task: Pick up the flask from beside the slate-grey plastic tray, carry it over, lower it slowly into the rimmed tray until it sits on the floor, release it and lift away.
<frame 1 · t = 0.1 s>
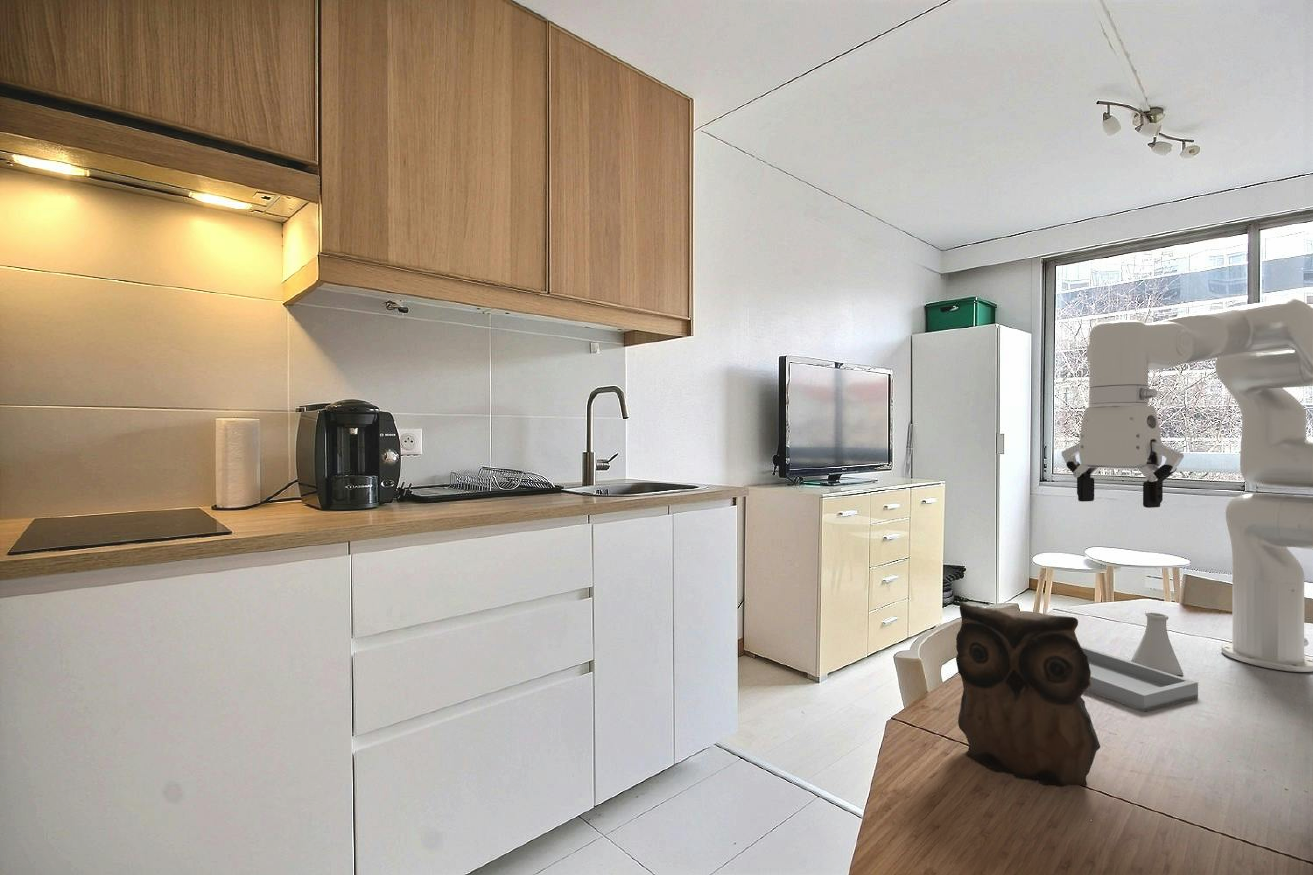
hand: (1117, 504, 96), 31 cm above the table, tool pointing down, fingers open, 9 cm apart
owl: (1026, 761, 76), on the table
flask: (1156, 670, 108), on the table
tray: (1103, 680, 102), on the table
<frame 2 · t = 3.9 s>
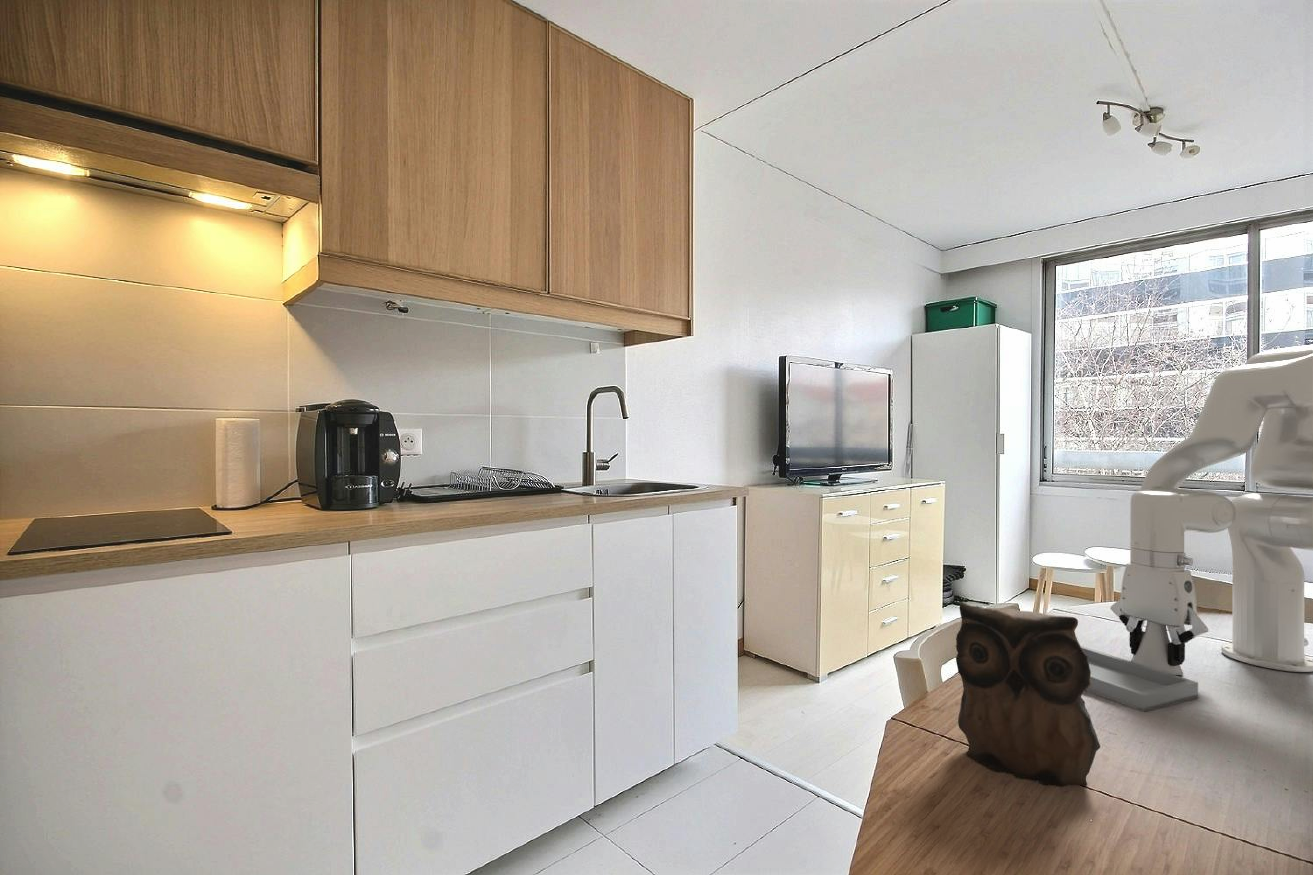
hand: (1156, 657, 108), 2 cm above the table, tool pointing down, fingers closed on flask, 5 cm apart
flask: (1156, 670, 108), on the table, touching gripper
everything else where it was.
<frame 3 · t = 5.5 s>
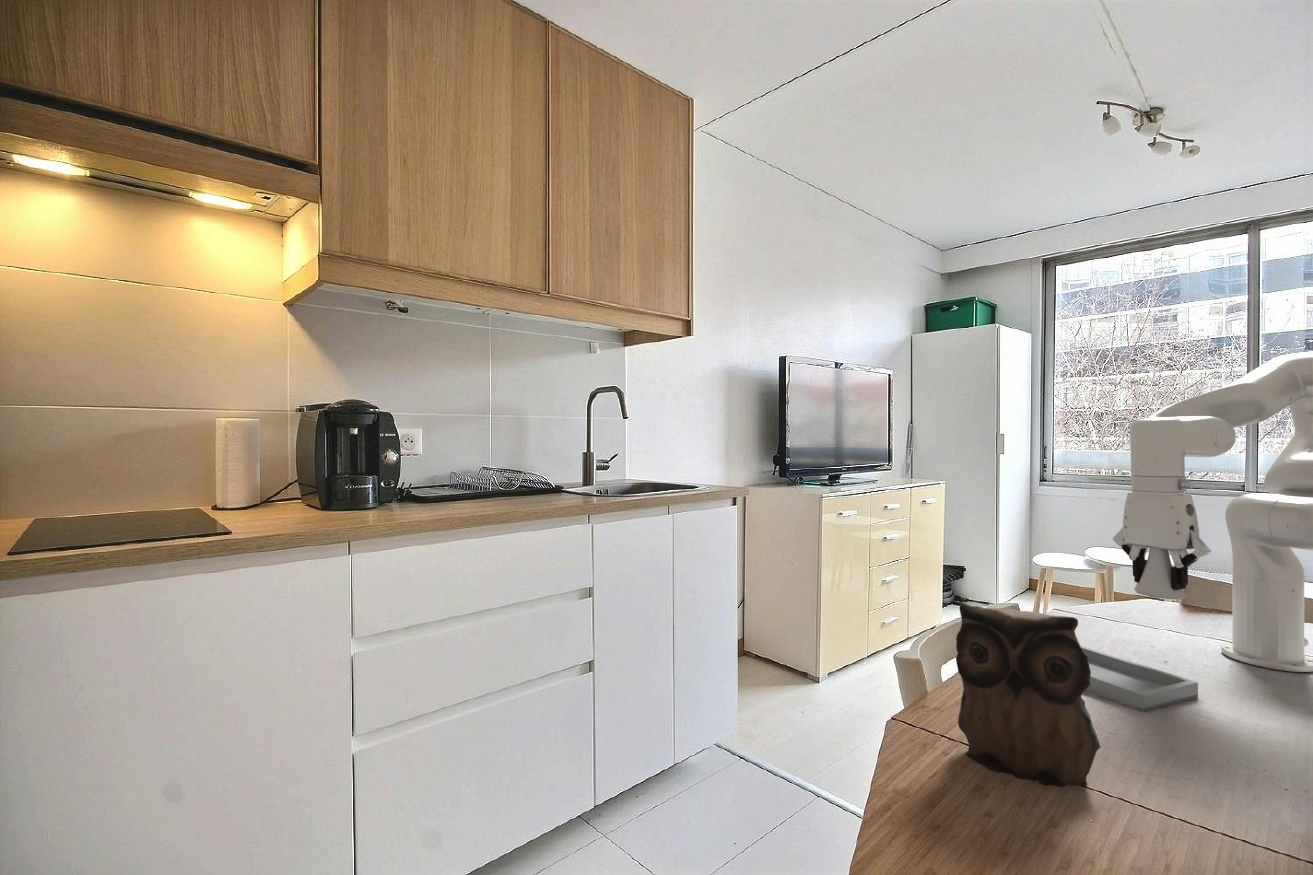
hand: (1159, 584, 108), 15 cm above the table, tool pointing down, fingers closed on flask, 5 cm apart
flask: (1159, 596, 108), point 13 cm above the table, touching gripper
everything else where it was.
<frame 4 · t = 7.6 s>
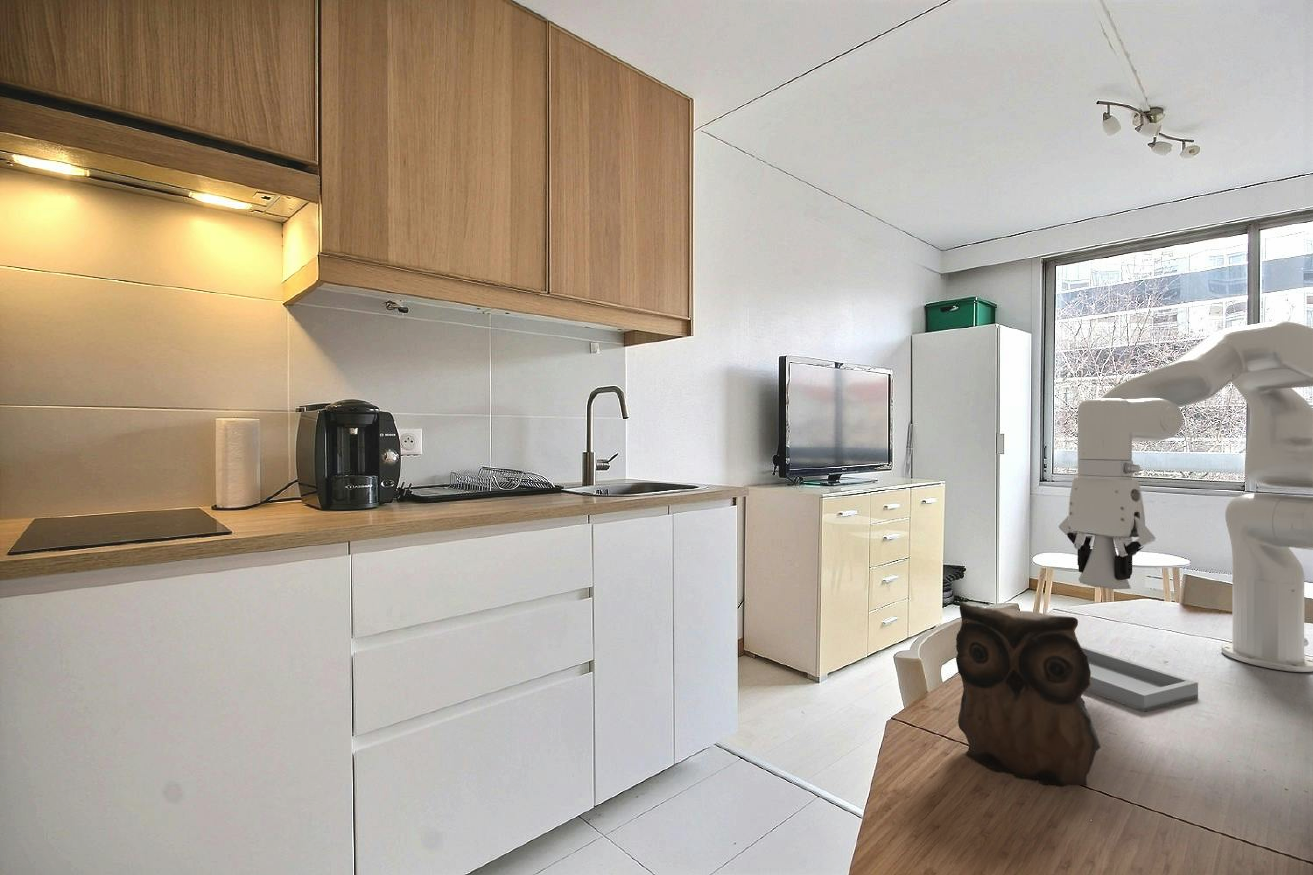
hand: (1103, 574, 102), 18 cm above the table, tool pointing down, fingers closed on flask, 5 cm apart
flask: (1103, 586, 102), point 16 cm above the table, touching gripper
everything else where it was.
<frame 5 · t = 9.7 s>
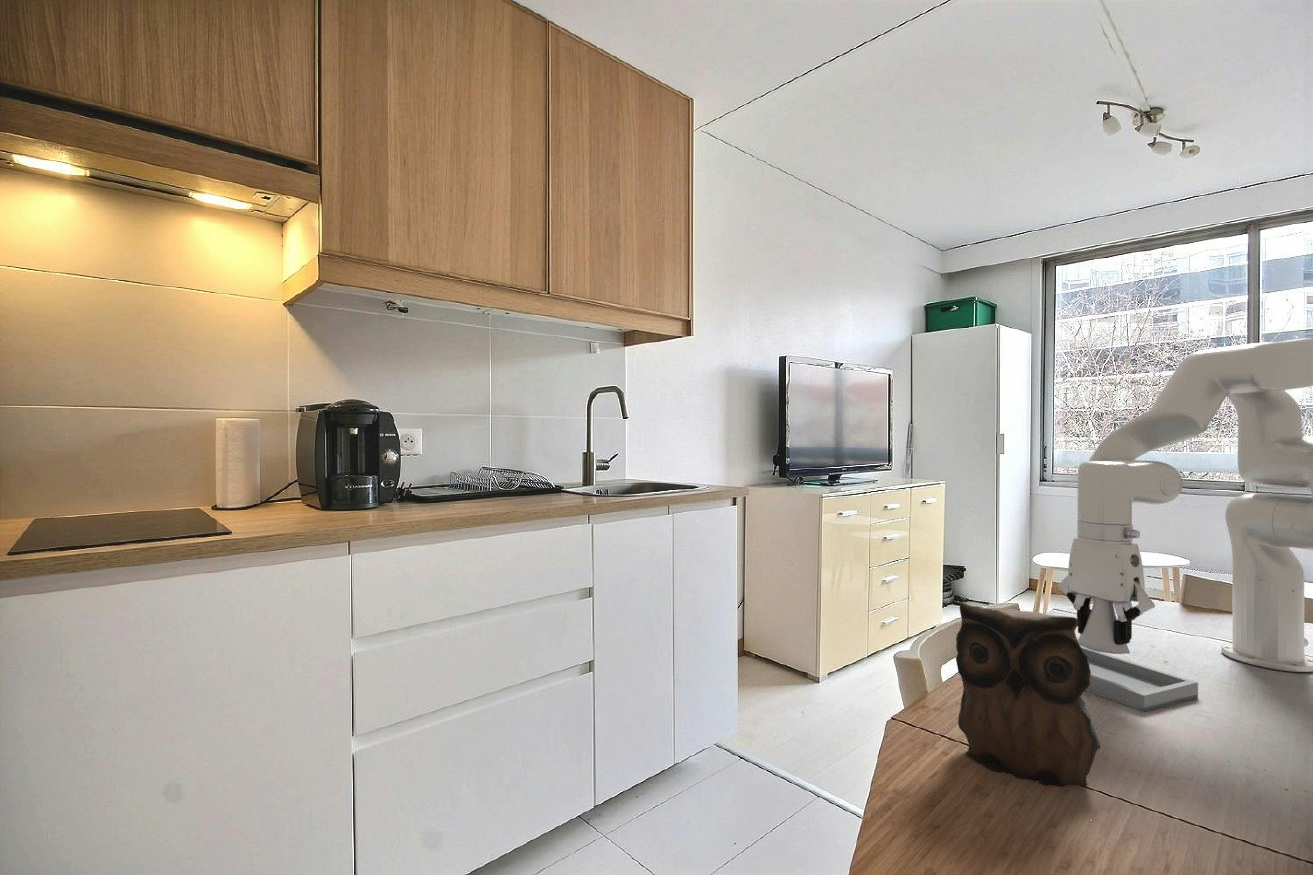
hand: (1103, 636, 102), 8 cm above the table, tool pointing down, fingers closed on flask, 5 cm apart
flask: (1103, 649, 102), point 5 cm above the table, touching gripper
everything else where it was.
when the fingers open (3 cm above the table, at t = 11.3 s): flask stays where it is, resting on tray.
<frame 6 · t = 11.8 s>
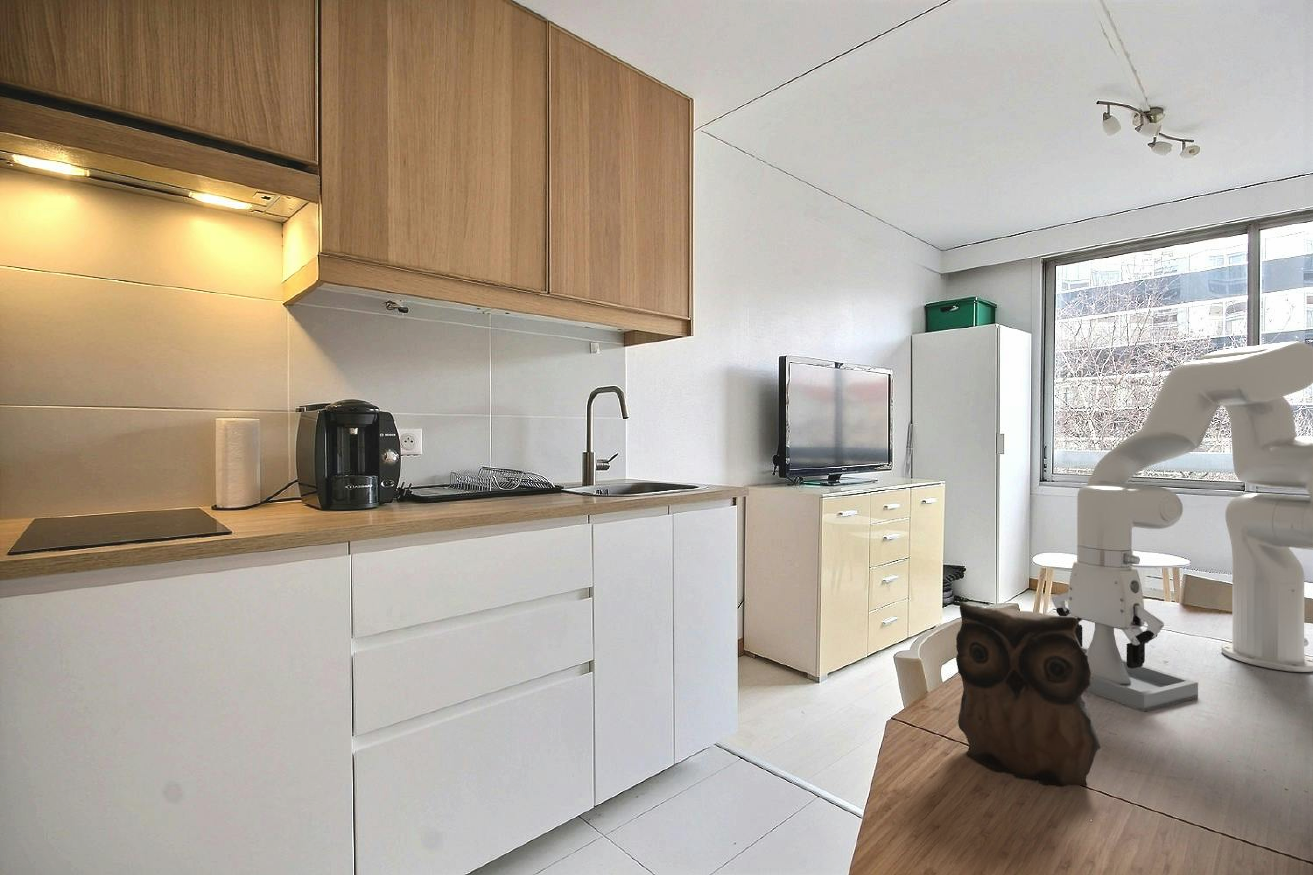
hand: (1103, 656, 102), 4 cm above the table, tool pointing down, fingers open, 9 cm apart
flask: (1104, 678, 102), resting on tray
everything else where it was.
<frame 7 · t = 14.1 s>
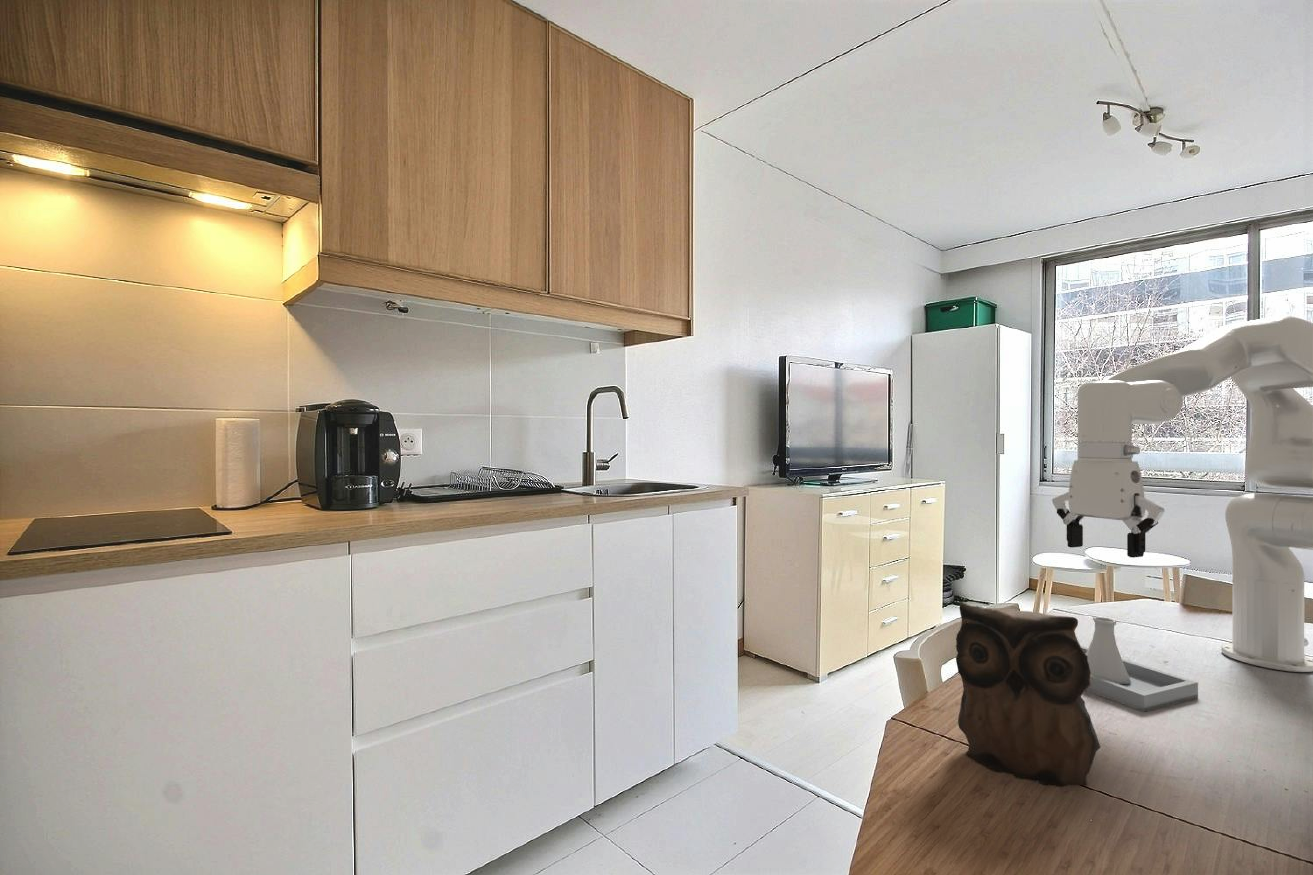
hand: (1104, 551, 102), 22 cm above the table, tool pointing down, fingers open, 9 cm apart
nothing on the table moved.
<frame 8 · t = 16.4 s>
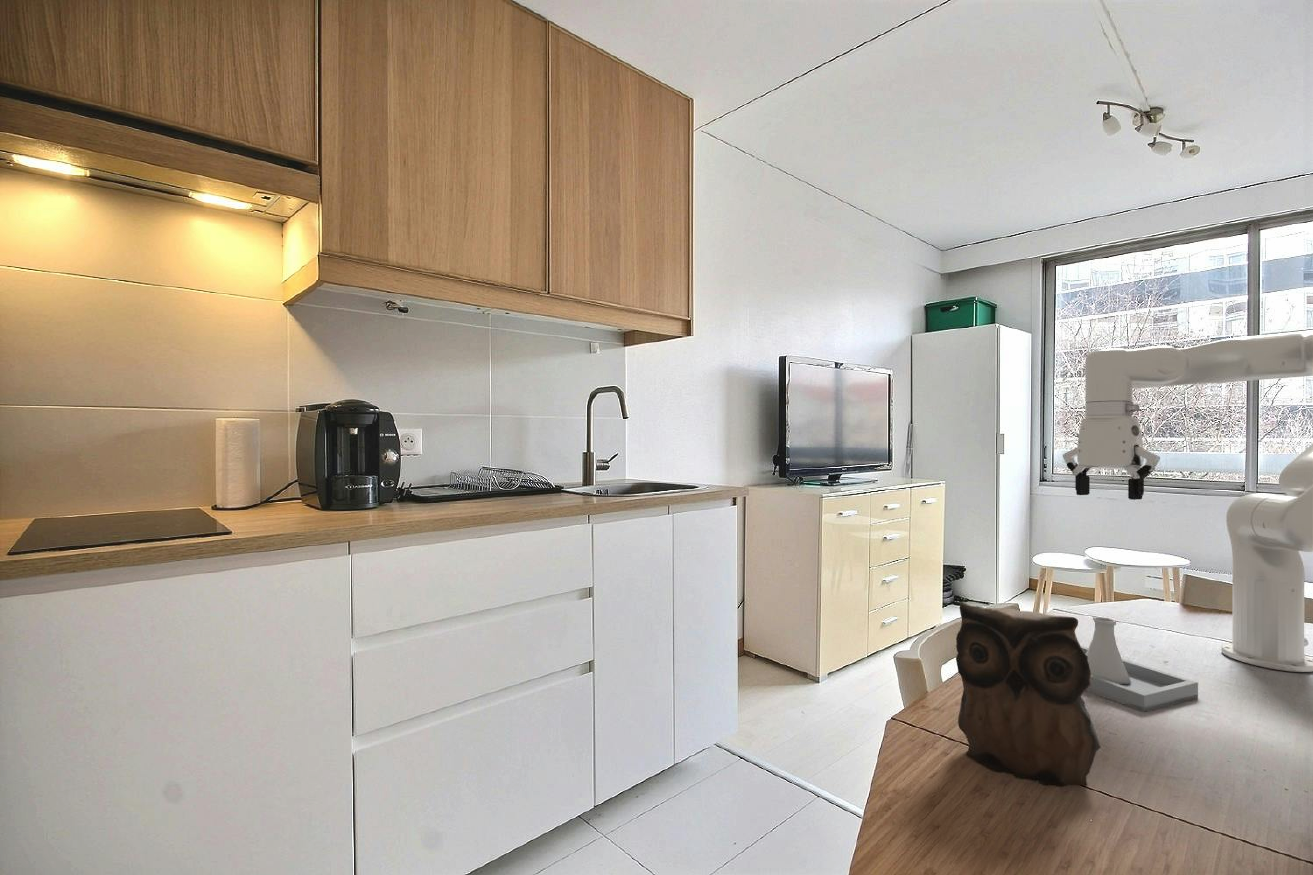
hand: (1108, 497, 118), 30 cm above the table, tool pointing down, fingers open, 9 cm apart
nothing on the table moved.
at the end: flask inside the target area on the tray (0.2 cm from its centre), point 0.4 cm above the tray's base; flask tilted 0°; the gripper is holding nothing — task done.
